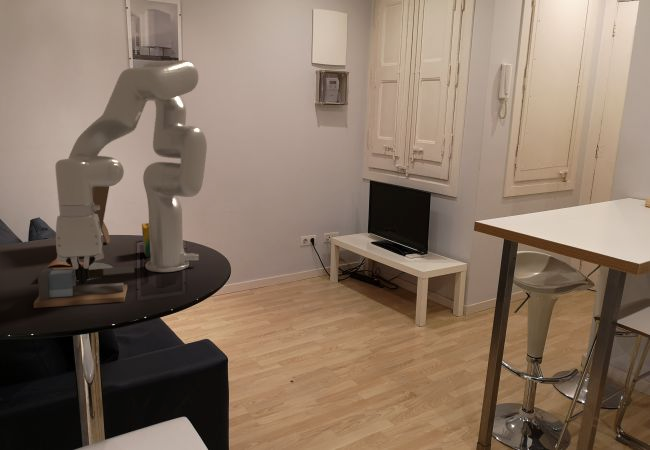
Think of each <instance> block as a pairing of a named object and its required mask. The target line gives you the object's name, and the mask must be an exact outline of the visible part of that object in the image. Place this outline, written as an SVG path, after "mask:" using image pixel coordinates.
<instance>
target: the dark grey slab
mask: <svg viewBox="0 0 650 450" xmlns="http://www.w3.org/2000/svg"><path fill="white" fill-rule="evenodd" d="M52 270H53V268H46V267H43V269H42V271H41V272H39V274H38V275H37V284H38V296H39V297H40V301H41V300H49V299H50V298H51V297H50V295H49V283H48V275H49V274H50V272H51V271H52Z"/></svg>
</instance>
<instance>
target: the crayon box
mask: <svg viewBox="0 0 650 450" xmlns="http://www.w3.org/2000/svg"><path fill="white" fill-rule="evenodd" d="M141 232H142V246H143V247H142V248H143V253H144V255H145V257H146V258H151V255H150V233H149V222H148V223H141Z"/></svg>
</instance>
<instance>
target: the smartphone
mask: <svg viewBox="0 0 650 450" xmlns="http://www.w3.org/2000/svg"><path fill="white" fill-rule="evenodd" d="M135 274H136V270H135V268H134V266H132V265H131V266H119V267H118V266H117V267H107V268H106V267H105V268H95V269H94V268H93V269H89V277H90V278H89V279H97V278H106V277H118V276H127V275H128V276H129V275H135Z"/></svg>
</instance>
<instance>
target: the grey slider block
mask: <svg viewBox="0 0 650 450" xmlns="http://www.w3.org/2000/svg"><path fill="white" fill-rule="evenodd" d="M48 283H49V295H50V297H66V296H73V286H77V285H76V276H75V270H74V269H54V270H52V271H51V272H50V274H49V275H48Z"/></svg>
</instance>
